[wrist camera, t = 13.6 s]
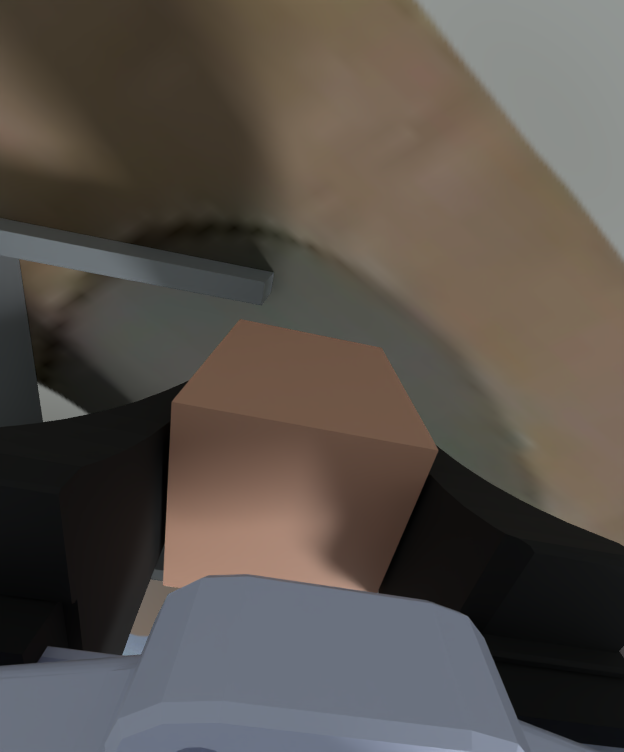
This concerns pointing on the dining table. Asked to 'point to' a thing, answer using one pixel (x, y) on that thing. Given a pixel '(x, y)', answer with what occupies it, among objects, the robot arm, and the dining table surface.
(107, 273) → the grey tray
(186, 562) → the salmon box
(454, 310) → the dining table surface
